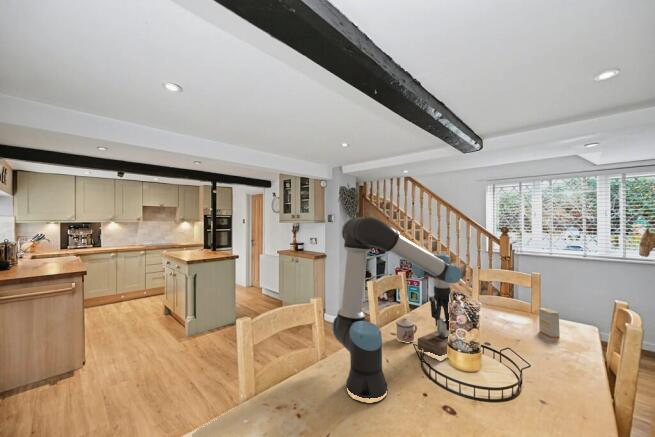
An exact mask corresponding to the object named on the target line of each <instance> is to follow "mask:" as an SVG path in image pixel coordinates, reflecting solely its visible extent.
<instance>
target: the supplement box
mask: <svg viewBox="0 0 655 437" xmlns="http://www.w3.org/2000/svg"><path fill="white" fill-rule="evenodd" d="M559 313H560V312H558V311H556V310H553V309H550V308H548V307H538V329H539V332H540V333H542V334H544V335H546V336H548V337H549V338H560V314H559Z"/></svg>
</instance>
